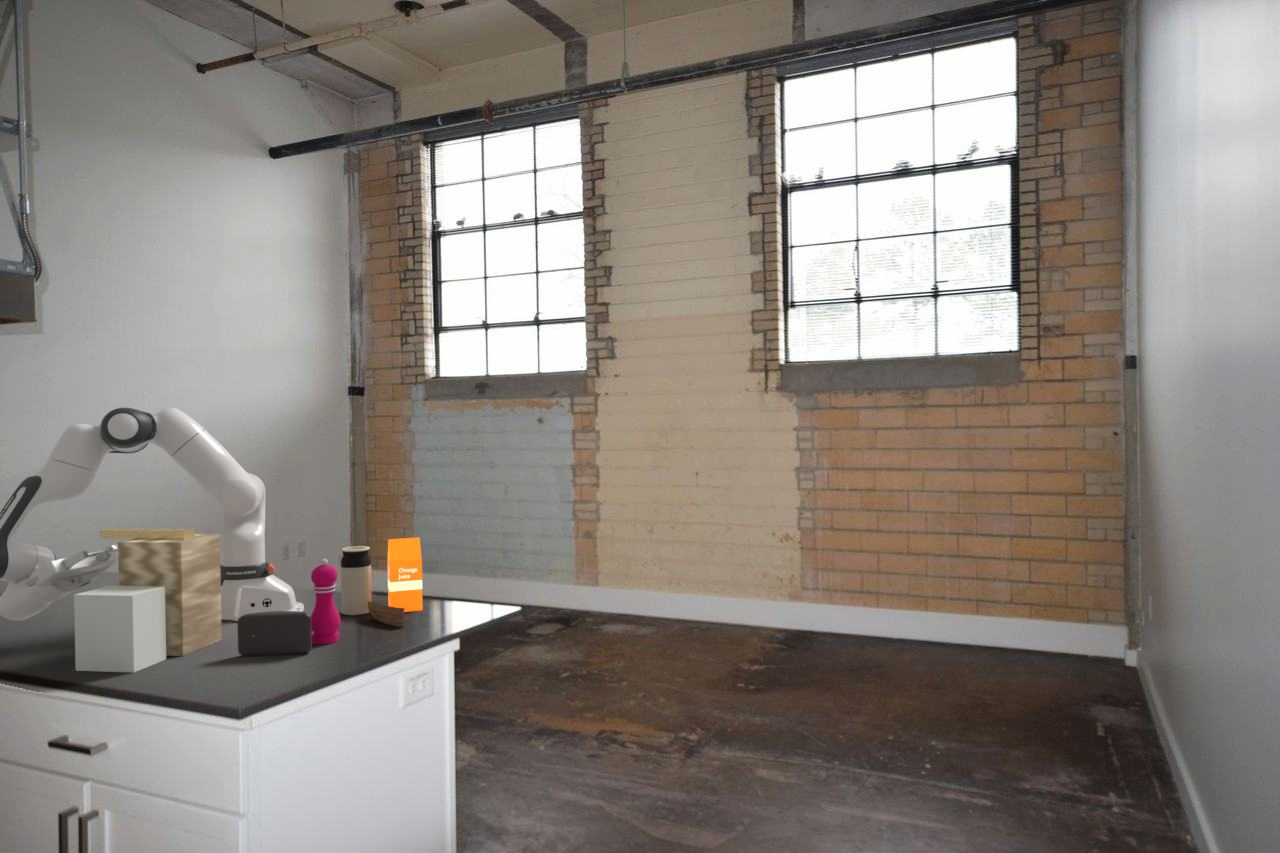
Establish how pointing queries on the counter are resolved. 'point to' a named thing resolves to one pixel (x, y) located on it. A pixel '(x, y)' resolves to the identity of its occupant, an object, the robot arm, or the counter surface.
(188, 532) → the tan long flat block
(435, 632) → the counter surface
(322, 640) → the pepper mill
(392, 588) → the orange juice
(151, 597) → the pale grey block
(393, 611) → the wood plank
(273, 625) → the red-dot charcoal block
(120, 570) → the oak pedestal
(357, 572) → the travel mug
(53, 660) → the counter surface
